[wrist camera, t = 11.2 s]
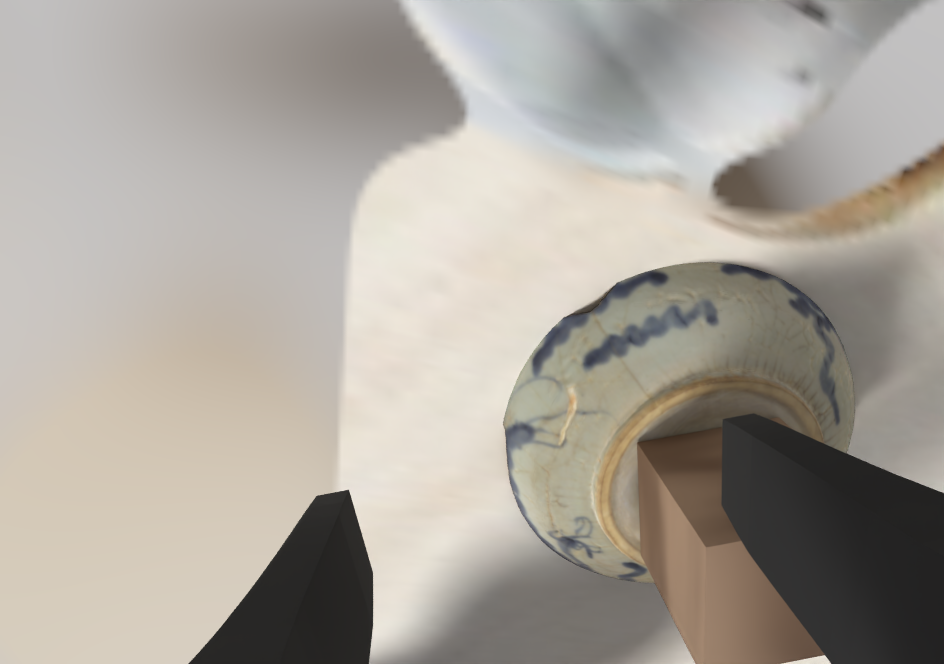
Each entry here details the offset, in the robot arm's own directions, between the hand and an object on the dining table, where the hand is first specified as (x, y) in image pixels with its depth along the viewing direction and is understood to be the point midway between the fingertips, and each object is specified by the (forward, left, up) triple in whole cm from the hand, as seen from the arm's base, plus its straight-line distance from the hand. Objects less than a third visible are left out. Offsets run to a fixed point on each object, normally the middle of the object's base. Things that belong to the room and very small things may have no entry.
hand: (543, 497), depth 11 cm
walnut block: (+7, -7, -7) cm, 12 cm away
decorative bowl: (+7, -7, -11) cm, 15 cm away
